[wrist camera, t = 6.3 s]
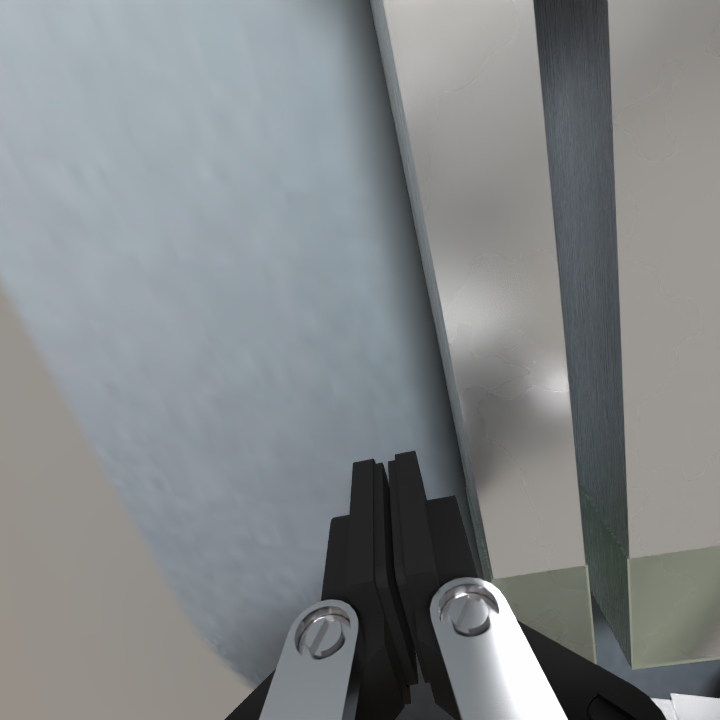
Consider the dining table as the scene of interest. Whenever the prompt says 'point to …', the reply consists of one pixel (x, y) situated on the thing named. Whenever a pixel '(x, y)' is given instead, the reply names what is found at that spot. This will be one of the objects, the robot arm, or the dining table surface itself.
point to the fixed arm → (641, 305)
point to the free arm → (494, 289)
